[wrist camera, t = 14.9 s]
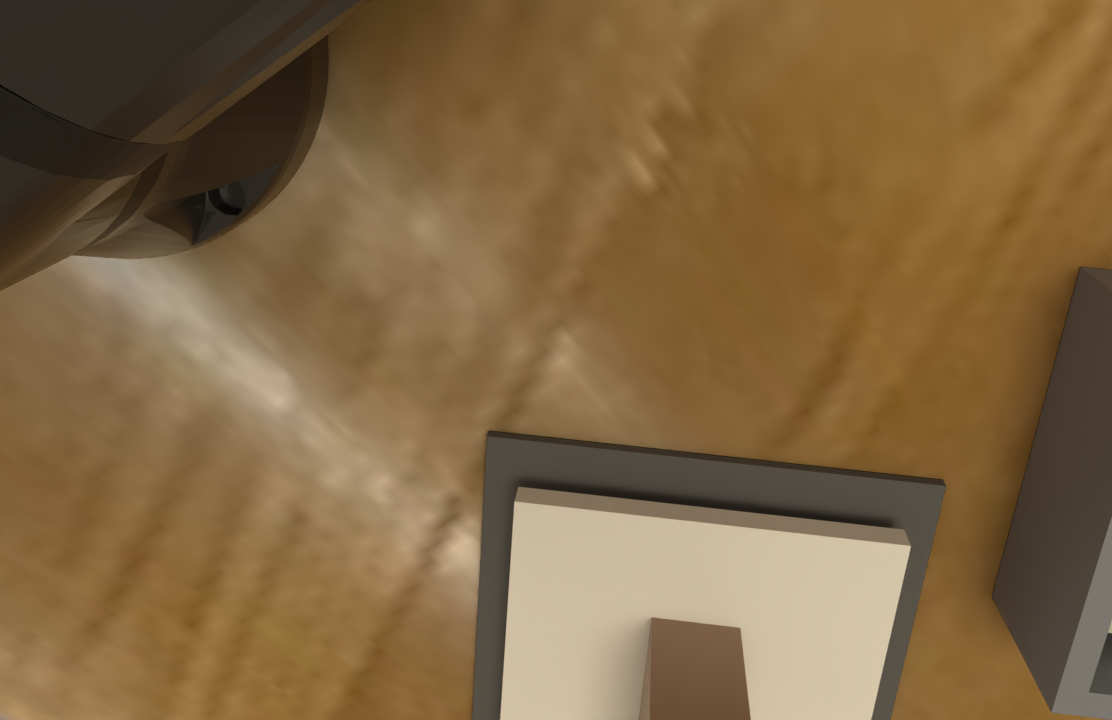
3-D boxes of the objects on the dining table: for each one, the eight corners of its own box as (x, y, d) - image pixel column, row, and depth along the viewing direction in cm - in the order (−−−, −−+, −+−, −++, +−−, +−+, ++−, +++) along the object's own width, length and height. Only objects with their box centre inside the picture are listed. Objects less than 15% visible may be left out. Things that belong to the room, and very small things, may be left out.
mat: (470, 778, 48) (468, 786, 48) (489, 430, 42) (487, 436, 41) (860, 829, 47) (862, 838, 47) (942, 479, 41) (946, 485, 40)
